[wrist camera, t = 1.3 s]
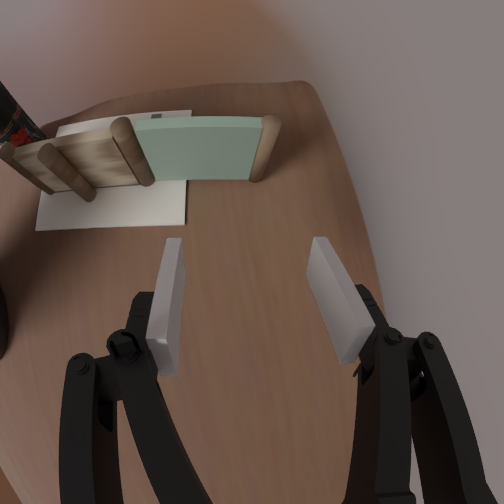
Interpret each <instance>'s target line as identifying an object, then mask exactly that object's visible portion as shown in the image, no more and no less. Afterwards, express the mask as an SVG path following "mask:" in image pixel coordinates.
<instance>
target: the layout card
mask: <svg viewBox="0 0 504 504" xmlns="http://www.w3.org/2000/svg"><path fill="white" fill-rule="evenodd" d="M191 115H192V110H177V111H161V112H149V113H138V114H129V115H121V116H114V117H107V118H101V119H95V120H89V121H84V122H78V123H74V124H69V125H64V126H60V127H59V128H58V131H57V134H56V137H60V136H65V135H70V134H75V133H81V132H86V131H92V130H99V129H105V128H110V125H111V123H112V122H113V121H114V120H115V119H117V118H119V117H128V118H129V119H130V121H131V124H132V126H133V128H134V129H135V124H136V120H144V119H155V118H170V117H191ZM93 188H94V189H95V190H96V192H97V195H96V198H95V199H94V200H93V201H92V202H86V201H85V200H84V199H82V198H81V197H80V196H79V195H78V194H76V193H75V192H74V191H73V190H65V191H57V192H54V194H53V195H48V194H47V193H45V192H44V191H43V190H42V192H41V197H40V202H39V208H38V214H37V221H36V228H35V231H48V230H65V229H85V228H107V227H135V226H173V225H185V200H186V180H169V181H156V179H155V181H154V183H153V184H152V185H151V186H148V187H144V186H142V185H141V183H139V184H131V185H117V186H105V187H93Z"/></svg>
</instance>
